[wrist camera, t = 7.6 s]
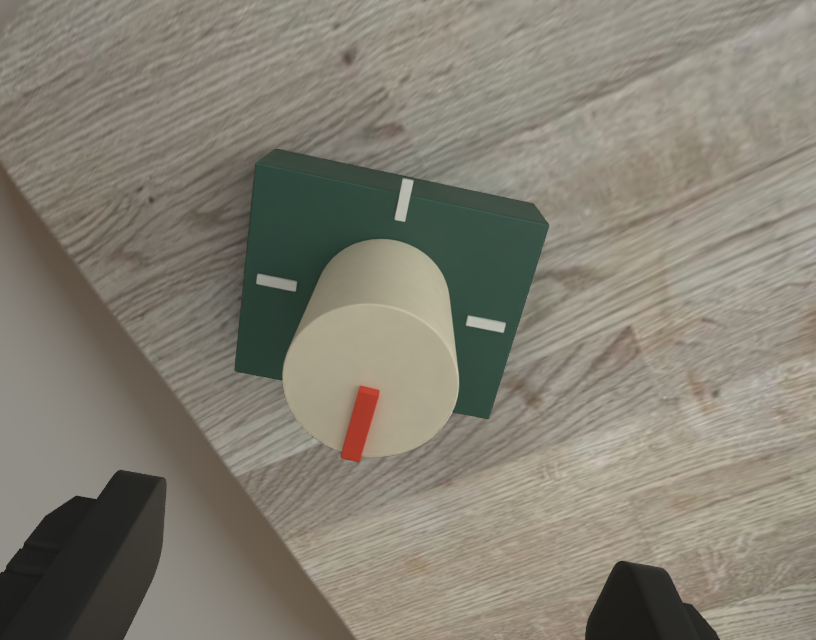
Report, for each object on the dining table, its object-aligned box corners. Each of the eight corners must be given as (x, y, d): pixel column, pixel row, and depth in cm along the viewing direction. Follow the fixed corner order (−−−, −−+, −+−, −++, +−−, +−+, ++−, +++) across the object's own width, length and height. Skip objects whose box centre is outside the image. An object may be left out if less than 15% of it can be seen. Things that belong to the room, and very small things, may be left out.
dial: (331, 222, 21) (298, 287, 15) (466, 258, 21) (483, 334, 15) (303, 344, 22) (265, 442, 17) (428, 375, 23) (431, 480, 17)
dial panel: (252, 347, 26) (231, 385, 23) (276, 134, 22) (255, 147, 19) (478, 390, 27) (486, 432, 24) (538, 191, 23) (555, 211, 20)
